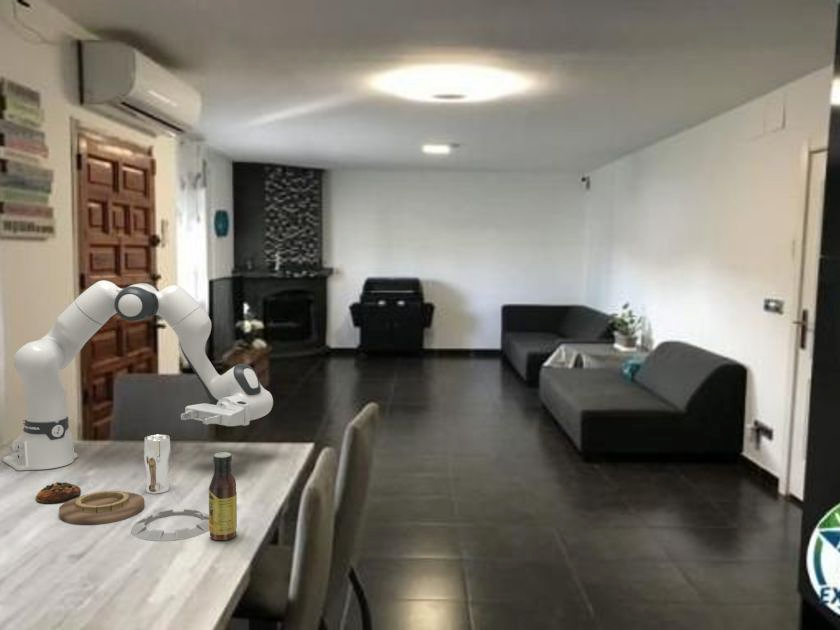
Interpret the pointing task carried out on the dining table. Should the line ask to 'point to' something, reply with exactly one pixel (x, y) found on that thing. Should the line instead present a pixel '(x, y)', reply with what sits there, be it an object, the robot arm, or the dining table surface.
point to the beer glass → (157, 462)
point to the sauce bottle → (222, 499)
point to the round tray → (101, 517)
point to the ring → (180, 534)
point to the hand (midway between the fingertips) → (193, 419)
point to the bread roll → (58, 493)
